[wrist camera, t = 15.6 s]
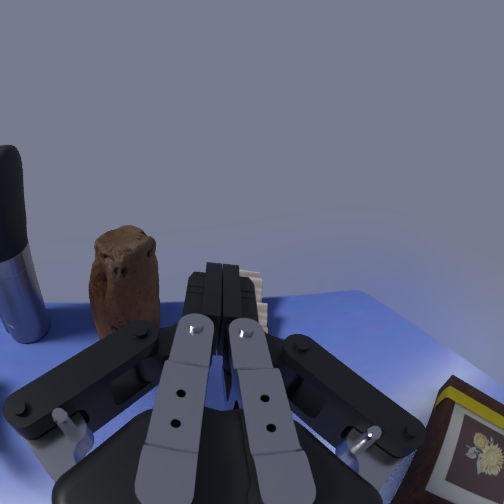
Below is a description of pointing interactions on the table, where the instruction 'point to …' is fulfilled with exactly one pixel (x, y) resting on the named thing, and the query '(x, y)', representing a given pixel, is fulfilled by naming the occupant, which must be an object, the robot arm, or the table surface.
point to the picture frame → (458, 451)
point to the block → (124, 280)
